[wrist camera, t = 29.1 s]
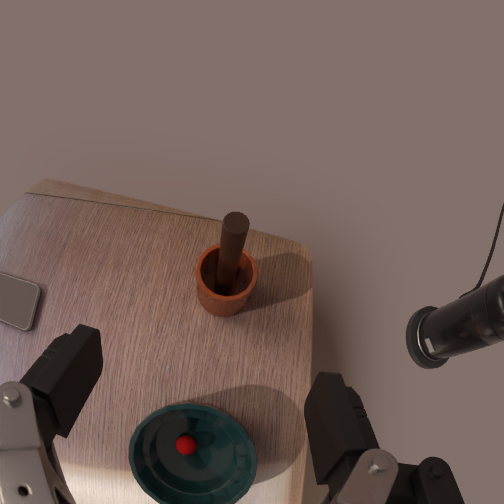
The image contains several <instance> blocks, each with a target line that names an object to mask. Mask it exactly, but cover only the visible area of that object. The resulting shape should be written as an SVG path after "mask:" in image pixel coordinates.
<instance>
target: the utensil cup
mask: <svg viewBox="0 0 504 504" xmlns="http://www.w3.org/2000/svg"><path fill="white" fill-rule="evenodd" d="M219 250H220V244H216V245H214V246H212V247H210V248H208V249H206V250H205V251H204V253H203V254H202V255H201V256H200V257H199V259H198V263H197V266H196V282H197V293H198V299H199V301H200V303H201V305H202V306H203V308H204V309H205V310H206V311H208V312H209V313H211V314H213V315H216V316H220V317H227V316H231V315H234V314H236V313H238V312H239V311H240V310H241V309H242V308H243V307H244V305H245V304H246V302H247V301H248V298H249V296H250V294H251V292H252V290H253V288H254V286H255V284H256V280H257V275H258V270H257V266H256V262H255V260H254V259H253V257H252V256H251V254H250V253H249V252H248V251H247V250H245V249H244V248H243V251H242V254H241V258H240V262H239V265H238V269H237V272H236V276H235V280H234V283H233V287H232V290H231V294H230V296H227V297H226V296H222V295H217V294H215V285H216V276H217V267H218V258H219Z"/></svg>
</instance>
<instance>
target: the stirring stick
mask: <svg viewBox="0 0 504 504" xmlns="http://www.w3.org/2000/svg"><path fill="white" fill-rule="evenodd" d="M249 224H250V223H249V220H248V218H247V217H246V215H244V214H243V213H240V212H231V213H229V214H227V215H226V216H225V217H224V219H223V225H222V233H221V241H220V250H219V258H218V267H217V276H216V285H215V294H217V295H222V296H226V297H227V296H230V294H231V290H232V287H233V283H234V280H235V276H236V272H237V269H238V265H239V262H240V258H241V254H242V251H243V247H244V244H245V240H246V236H247V233H248V229H249Z"/></svg>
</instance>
